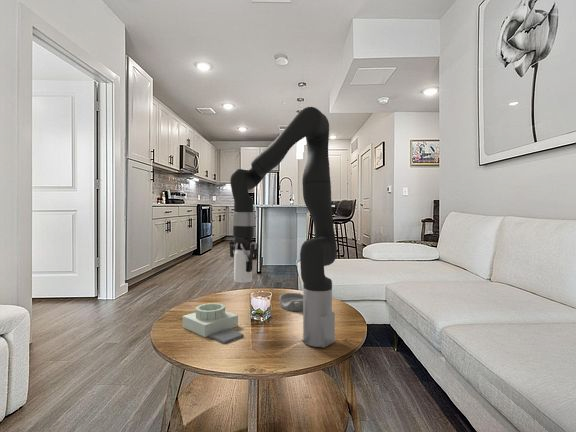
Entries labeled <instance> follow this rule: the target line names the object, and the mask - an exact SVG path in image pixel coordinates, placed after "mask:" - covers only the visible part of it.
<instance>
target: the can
mask: <svg viewBox="0 0 576 432" xmlns="http://www.w3.org/2000/svg"><path fill="white" fill-rule="evenodd" d="M246 252H247V253H249V252H250V250H247V251H246ZM233 254H234V259H233V262H234V263H233V281H234V282H235V283H237V284H249V283H251V282H252V281H253V280H252V279H253V270H252V271H251V272H246V262H247V261H246V256H245V255H244V252H243V250H238V249H236V251H235V253H234V252H233ZM248 257H249V258H250V255H248Z"/></svg>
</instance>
